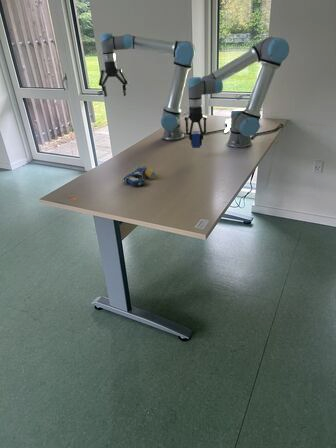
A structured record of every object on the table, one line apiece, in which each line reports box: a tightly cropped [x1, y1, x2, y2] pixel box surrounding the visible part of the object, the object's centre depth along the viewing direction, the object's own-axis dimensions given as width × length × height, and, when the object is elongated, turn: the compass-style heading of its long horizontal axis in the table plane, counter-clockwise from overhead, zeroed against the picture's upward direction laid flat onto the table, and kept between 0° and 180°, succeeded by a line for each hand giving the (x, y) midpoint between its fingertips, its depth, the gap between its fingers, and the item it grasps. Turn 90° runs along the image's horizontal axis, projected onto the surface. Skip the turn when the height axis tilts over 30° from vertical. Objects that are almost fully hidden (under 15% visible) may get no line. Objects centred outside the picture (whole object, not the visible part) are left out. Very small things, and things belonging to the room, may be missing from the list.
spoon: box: [223, 117, 231, 134], centre depth 262 cm, size 35×11×2 cm, turn 159°
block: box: [191, 130, 201, 149], centre depth 206 cm, size 5×6×9 cm
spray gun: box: [122, 166, 157, 187], centre depth 186 cm, size 21×4×15 cm
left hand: (115, 96), depth 224 cm, fingers open, 13 cm apart
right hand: (196, 144), depth 207 cm, fingers closed on block, 5 cm apart
